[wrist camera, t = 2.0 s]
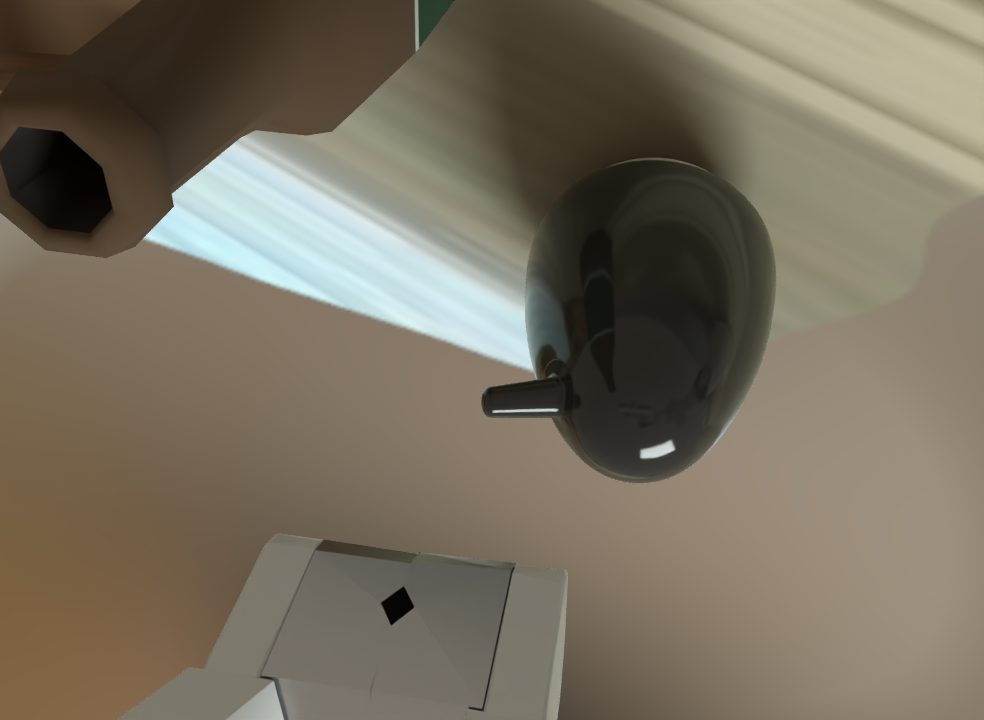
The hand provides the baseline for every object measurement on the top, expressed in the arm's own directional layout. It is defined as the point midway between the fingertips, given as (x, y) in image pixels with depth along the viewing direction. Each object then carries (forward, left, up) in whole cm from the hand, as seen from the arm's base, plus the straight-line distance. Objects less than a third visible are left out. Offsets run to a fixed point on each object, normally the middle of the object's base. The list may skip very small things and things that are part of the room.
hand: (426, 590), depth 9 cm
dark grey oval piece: (-2, +13, -32) cm, 35 cm away
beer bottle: (+9, 0, -32) cm, 33 cm away
